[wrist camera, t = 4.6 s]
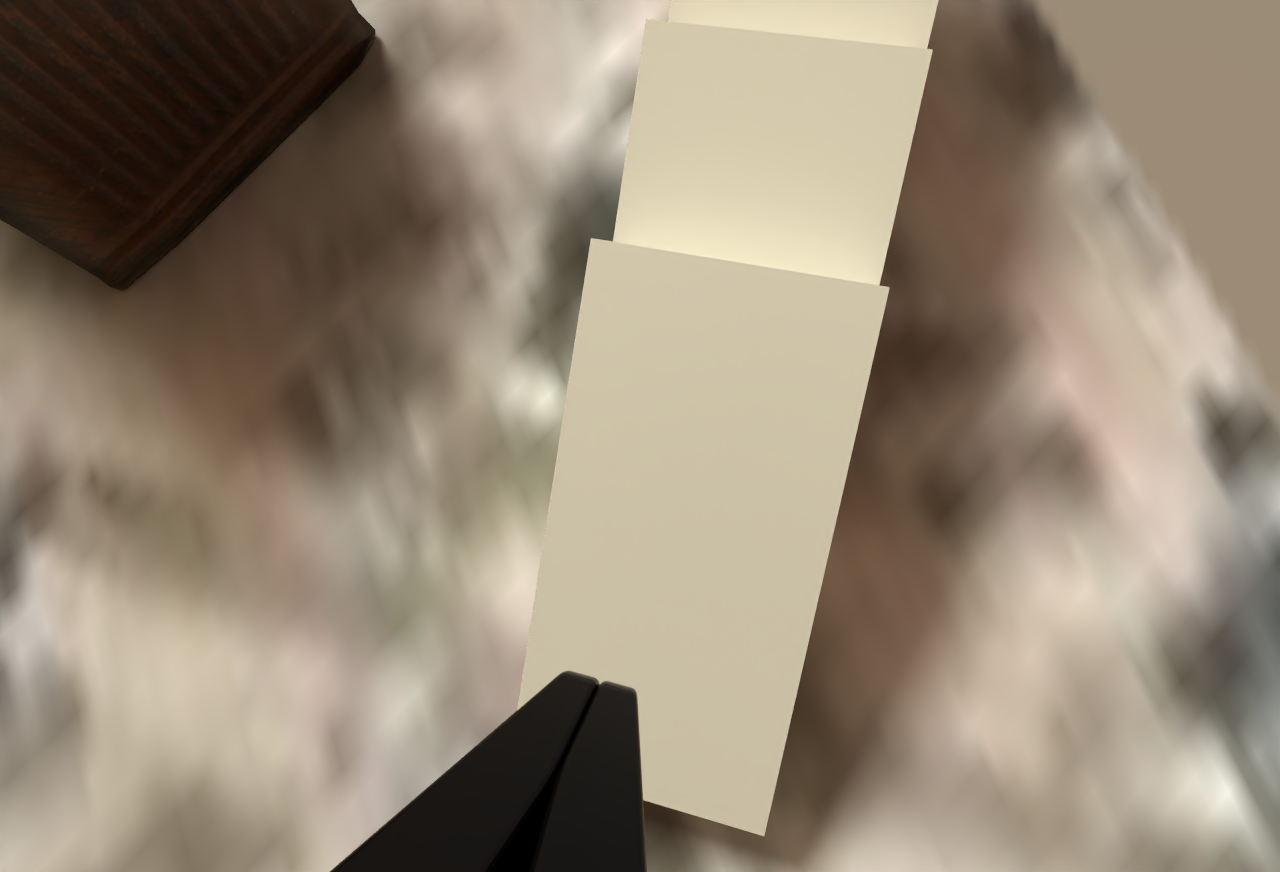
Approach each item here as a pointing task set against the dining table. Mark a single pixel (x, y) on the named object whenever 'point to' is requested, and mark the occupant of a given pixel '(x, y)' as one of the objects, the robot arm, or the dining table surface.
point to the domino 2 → (769, 147)
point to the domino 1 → (818, 18)
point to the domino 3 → (700, 507)
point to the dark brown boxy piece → (153, 113)
